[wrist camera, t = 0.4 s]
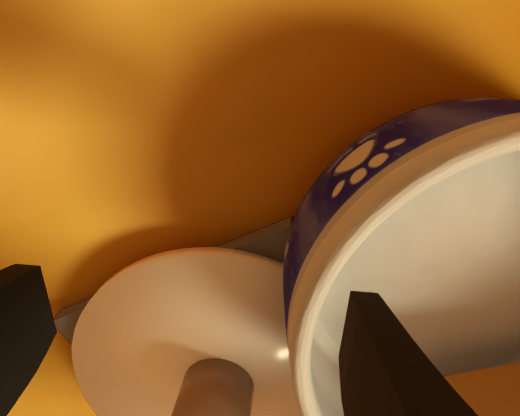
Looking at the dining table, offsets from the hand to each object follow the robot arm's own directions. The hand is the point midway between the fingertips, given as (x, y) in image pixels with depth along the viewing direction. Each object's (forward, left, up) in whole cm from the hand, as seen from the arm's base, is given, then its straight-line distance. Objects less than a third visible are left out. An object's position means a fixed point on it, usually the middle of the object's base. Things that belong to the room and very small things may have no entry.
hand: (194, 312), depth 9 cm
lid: (-11, +7, -9) cm, 15 cm away
